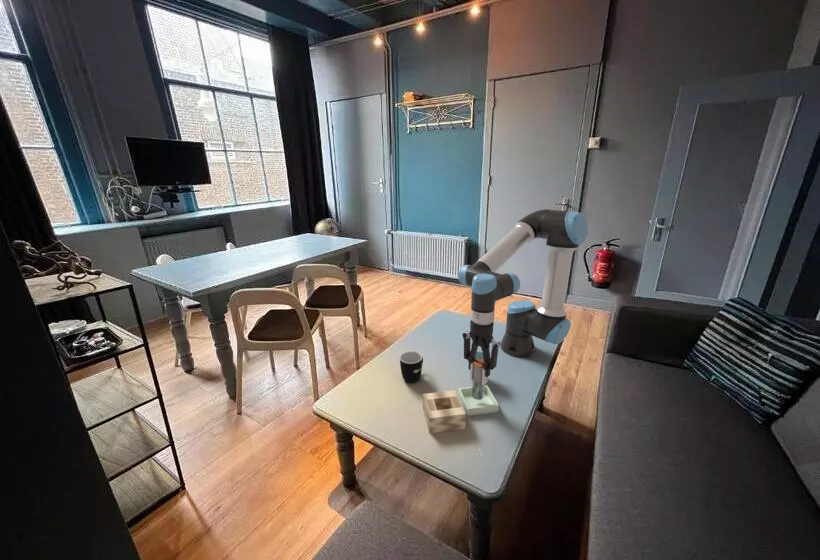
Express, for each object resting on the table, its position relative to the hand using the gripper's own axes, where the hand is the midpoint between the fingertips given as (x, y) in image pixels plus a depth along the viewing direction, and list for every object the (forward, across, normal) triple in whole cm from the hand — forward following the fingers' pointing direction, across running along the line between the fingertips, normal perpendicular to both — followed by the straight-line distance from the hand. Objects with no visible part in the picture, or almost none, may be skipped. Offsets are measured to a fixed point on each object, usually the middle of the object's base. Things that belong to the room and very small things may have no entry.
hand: (478, 380), depth 115 cm
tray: (+10, 0, 0) cm, 10 cm away
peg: (+7, 0, 0) cm, 7 cm away
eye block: (+10, -5, -14) cm, 18 cm away
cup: (+10, -7, +13) cm, 18 cm away
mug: (+10, -28, -3) cm, 30 cm away
